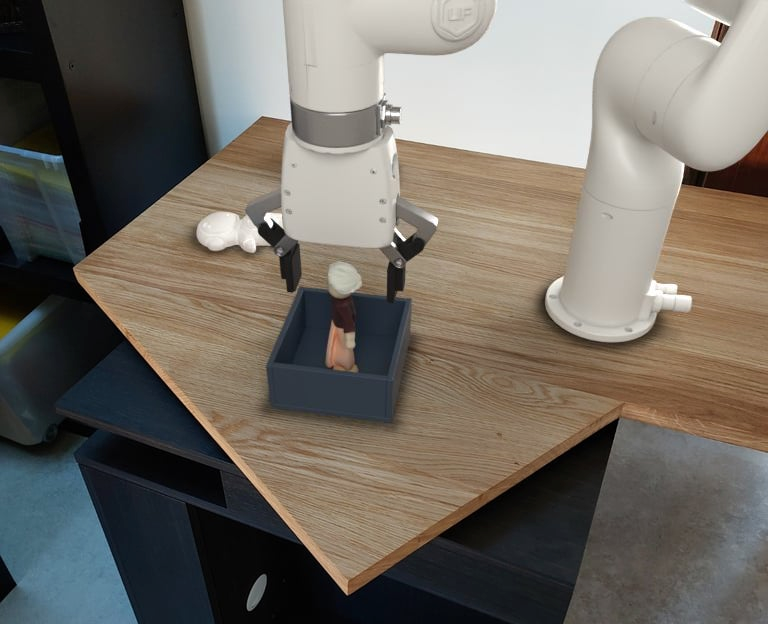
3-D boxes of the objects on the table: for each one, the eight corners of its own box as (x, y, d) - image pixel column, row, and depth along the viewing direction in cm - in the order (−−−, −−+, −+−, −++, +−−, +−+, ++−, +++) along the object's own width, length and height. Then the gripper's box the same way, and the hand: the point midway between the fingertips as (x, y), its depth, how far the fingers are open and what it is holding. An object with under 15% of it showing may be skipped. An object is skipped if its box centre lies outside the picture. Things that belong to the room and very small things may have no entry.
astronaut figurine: (282, 256, 98) (281, 235, 96) (189, 250, 99) (185, 229, 97) (295, 220, 104) (294, 200, 102) (208, 215, 105) (204, 194, 103)
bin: (410, 339, 86) (412, 298, 82) (391, 423, 76) (392, 380, 72) (302, 327, 87) (299, 286, 83) (270, 407, 78) (265, 365, 74)
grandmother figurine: (315, 349, 83) (309, 248, 75) (349, 341, 84) (347, 240, 76) (338, 395, 78) (334, 292, 70) (373, 386, 79) (374, 283, 71)
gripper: (448, 106, 65) (437, 276, 76) (248, 91, 67) (266, 259, 78) (438, 145, 59) (428, 323, 71) (220, 128, 61) (245, 303, 73)
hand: (343, 289), depth 75 cm, fingers open, 9 cm apart
